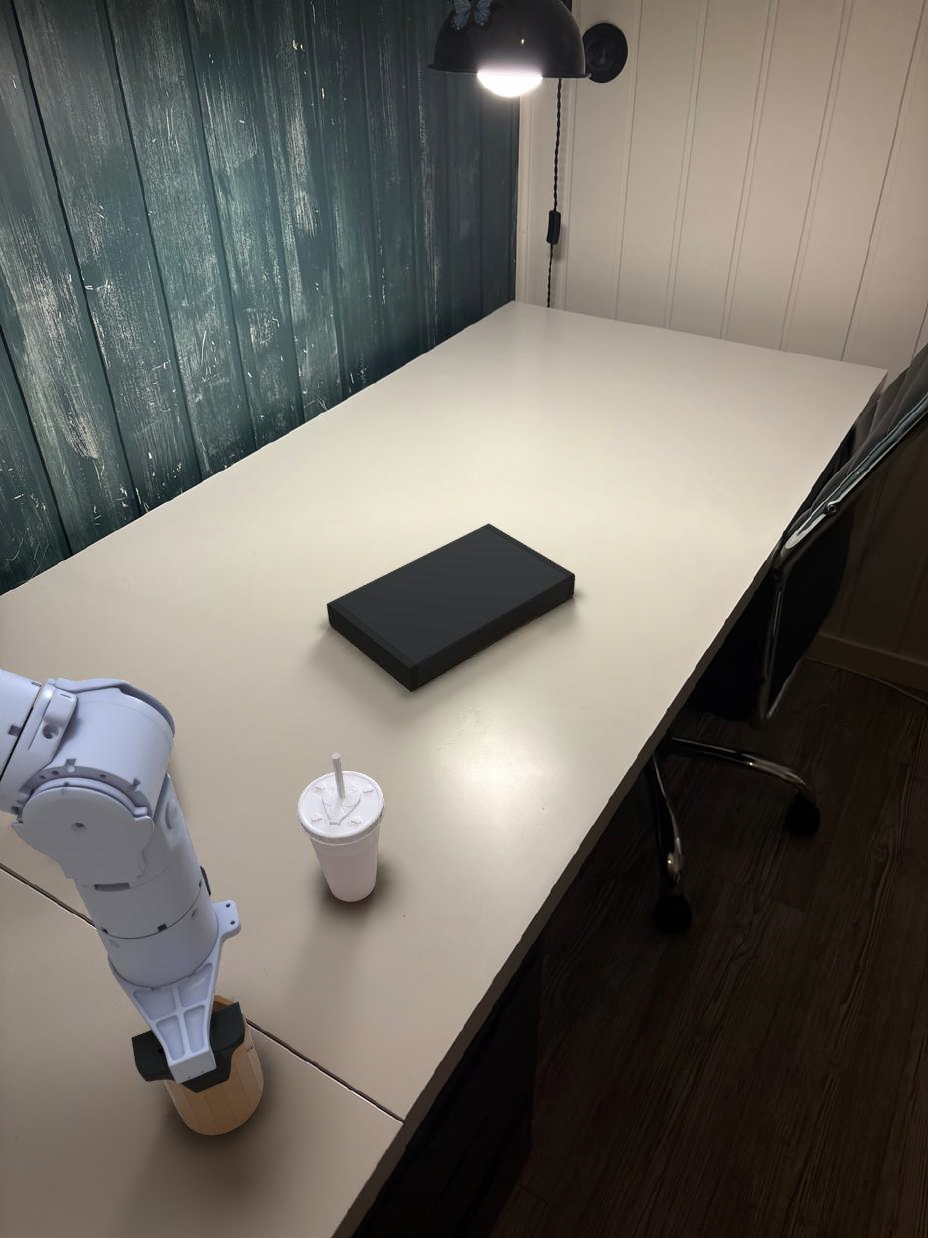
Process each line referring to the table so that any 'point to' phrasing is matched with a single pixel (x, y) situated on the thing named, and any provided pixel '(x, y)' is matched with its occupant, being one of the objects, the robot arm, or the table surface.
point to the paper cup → (223, 1091)
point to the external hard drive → (449, 604)
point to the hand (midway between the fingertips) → (198, 1022)
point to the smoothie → (344, 829)
